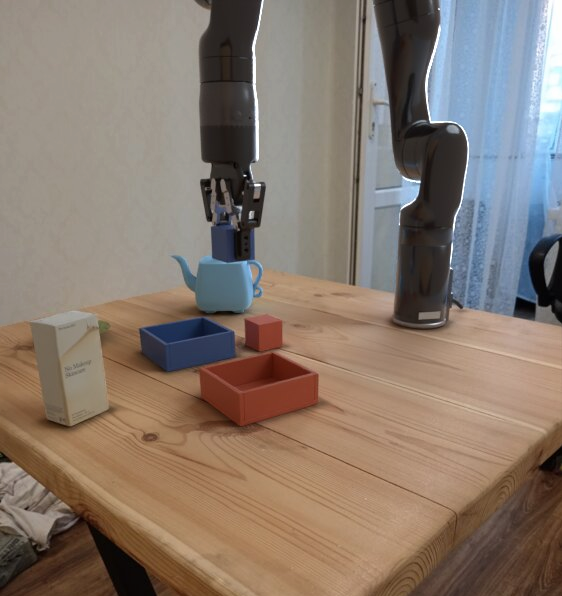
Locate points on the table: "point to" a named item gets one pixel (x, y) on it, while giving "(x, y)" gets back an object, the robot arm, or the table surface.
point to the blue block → (227, 243)
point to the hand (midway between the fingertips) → (233, 256)
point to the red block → (263, 332)
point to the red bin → (258, 387)
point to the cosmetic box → (70, 366)
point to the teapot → (222, 284)
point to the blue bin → (187, 343)
